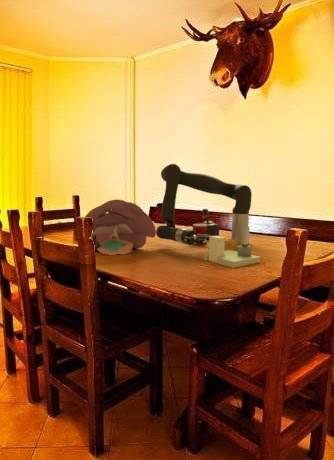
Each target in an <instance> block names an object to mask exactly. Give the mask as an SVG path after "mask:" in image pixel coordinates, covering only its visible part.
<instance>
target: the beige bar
mask: <svg viewBox="0 0 334 460" xmlns="http://www.w3.org/2000/svg"><path fill="white" fill-rule="evenodd" d="M227 239H228V238H227V237H226V236H220V235H219V236H210V240H209V242H208V244H209V247H208V254H209V260H208V261H209V262H212V263H216V264H218V263H217V258H218V257H223V256H224V247H225V241H226V240H227Z"/></svg>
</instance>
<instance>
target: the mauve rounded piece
mask: <svg viewBox="0 0 334 460" xmlns="http://www.w3.org/2000/svg"><path fill="white" fill-rule="evenodd" d="M85 217H91V218H92V219H93V233H92V239H93V242H94V245H95V250H94V251H96V250H97V251H98V252H99V253H101V254H103V255H107V254H108V255H107V256H117V255H116V254H121V255H125V254H129V253H132V252H133V248H136V250H137V249H141V248H144V246H145V244H146V243H147V237H148V238H151V239H152V238H155V237H156V236H157V234H156V230H157V229H156V226H155V224H154V222H153V220H152V218H151V217H150V215H148V214H147V213H146V212H145V211H144V209H143V208H141V207H140V206H139V205H137V204H135V203H133V202H131V201H130V202H129V201H125V200H122V199H111V200H109V201H106V202H104V203H103V204H101V205H99V206H96V207H94V208H91V210H90V211H88V213H87V214H86V215H85V216H84V218H85Z"/></svg>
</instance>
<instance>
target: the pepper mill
mask: <svg viewBox="0 0 334 460" xmlns="http://www.w3.org/2000/svg"><path fill="white" fill-rule="evenodd" d="M201 212H202V213H203V215H202V218H206V220H205V221H202V222H201V223H199V224H206V225H207V235H211V236H220V224H219V223H218V224H217V223H216V222H214V221H213V220H209V219H210V218H209V216H210V213H209V209H208V208H203V209H202V210H201Z"/></svg>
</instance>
